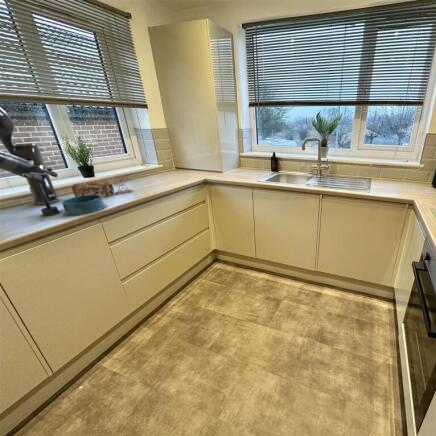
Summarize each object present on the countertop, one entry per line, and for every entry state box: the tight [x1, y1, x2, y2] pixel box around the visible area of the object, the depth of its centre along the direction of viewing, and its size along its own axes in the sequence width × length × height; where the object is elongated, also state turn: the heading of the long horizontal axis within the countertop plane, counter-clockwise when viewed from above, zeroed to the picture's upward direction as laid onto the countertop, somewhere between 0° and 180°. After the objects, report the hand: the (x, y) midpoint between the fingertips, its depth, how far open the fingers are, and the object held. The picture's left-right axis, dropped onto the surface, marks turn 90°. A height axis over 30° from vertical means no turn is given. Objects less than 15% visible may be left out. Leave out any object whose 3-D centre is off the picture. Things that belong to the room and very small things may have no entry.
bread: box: [71, 179, 115, 198], centre depth 147 cm, size 19×11×10 cm, turn 139°
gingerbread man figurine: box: [113, 174, 133, 195], centre depth 156 cm, size 9×4×12 cm, turn 134°
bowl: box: [61, 195, 106, 216], centre depth 126 cm, size 16×16×6 cm
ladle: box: [37, 183, 60, 217], centre depth 119 cm, size 6×6×16 cm
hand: (48, 176), depth 122 cm, fingers open, 8 cm apart
